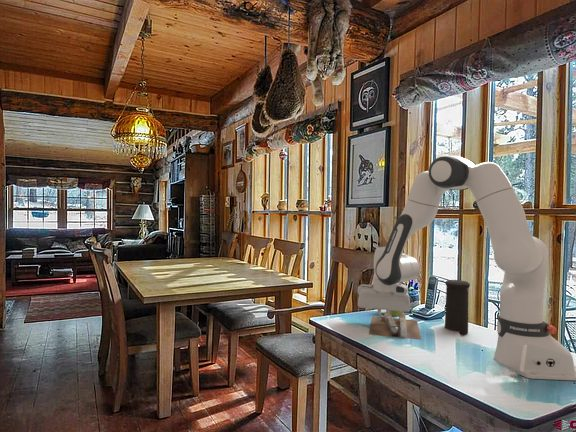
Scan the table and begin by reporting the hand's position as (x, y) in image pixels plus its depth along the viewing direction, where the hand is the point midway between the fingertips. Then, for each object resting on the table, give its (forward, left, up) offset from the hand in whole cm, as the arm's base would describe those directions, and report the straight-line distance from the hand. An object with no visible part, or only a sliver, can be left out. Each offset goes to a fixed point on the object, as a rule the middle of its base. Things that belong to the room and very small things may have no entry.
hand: (383, 320), depth 151 cm
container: (-27, -3, -3) cm, 28 cm away
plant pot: (-4, -17, -3) cm, 18 cm away
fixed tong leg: (-7, +4, -1) cm, 8 cm away
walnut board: (-4, +3, -3) cm, 6 cm away
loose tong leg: (-3, +4, -1) cm, 5 cm away
